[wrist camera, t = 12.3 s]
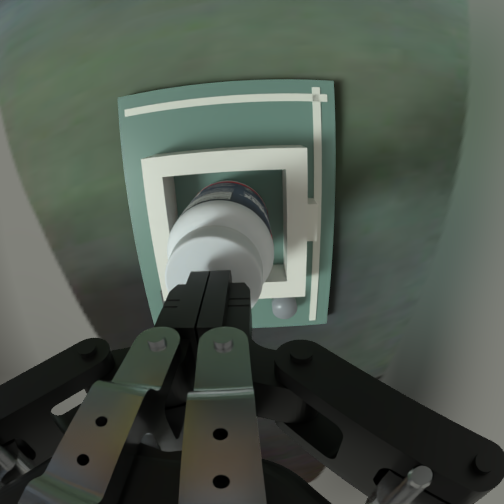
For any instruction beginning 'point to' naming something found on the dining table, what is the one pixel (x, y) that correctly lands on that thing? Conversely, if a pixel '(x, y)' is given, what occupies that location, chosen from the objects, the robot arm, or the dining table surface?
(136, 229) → the board
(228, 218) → the pill bottle
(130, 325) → the dining table surface
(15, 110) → the dining table surface
